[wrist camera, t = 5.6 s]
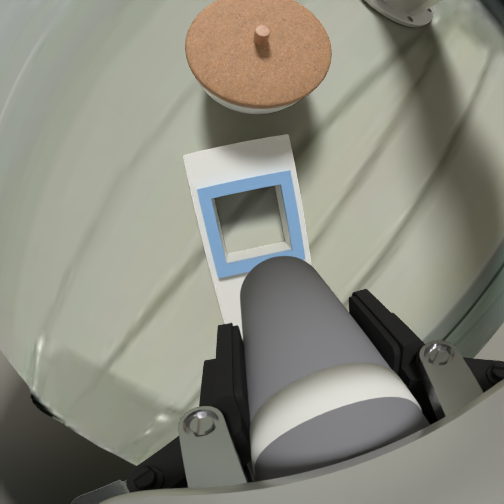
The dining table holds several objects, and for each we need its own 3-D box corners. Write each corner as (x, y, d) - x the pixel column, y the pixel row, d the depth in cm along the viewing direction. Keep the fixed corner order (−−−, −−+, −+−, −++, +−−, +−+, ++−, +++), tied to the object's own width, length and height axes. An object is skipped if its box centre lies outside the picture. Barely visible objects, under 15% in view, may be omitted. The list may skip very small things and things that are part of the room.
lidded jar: (327, 86, 24) (368, 53, 15) (245, 147, 25) (254, 133, 16) (257, 16, 21) (269, -37, 12) (174, 72, 23) (150, 29, 13)
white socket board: (188, 157, 25) (181, 154, 22) (282, 138, 25) (290, 132, 22) (245, 380, 32) (247, 400, 29) (316, 363, 32) (325, 382, 29)
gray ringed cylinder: (229, 266, 14) (232, 479, 4) (317, 245, 14) (466, 399, 4) (249, 339, 15) (273, 532, 5) (326, 320, 15) (419, 485, 5)
